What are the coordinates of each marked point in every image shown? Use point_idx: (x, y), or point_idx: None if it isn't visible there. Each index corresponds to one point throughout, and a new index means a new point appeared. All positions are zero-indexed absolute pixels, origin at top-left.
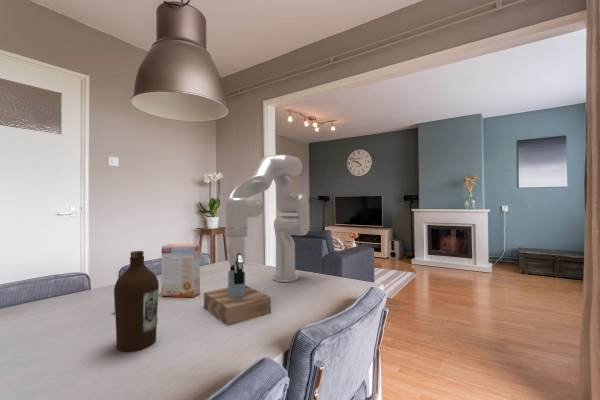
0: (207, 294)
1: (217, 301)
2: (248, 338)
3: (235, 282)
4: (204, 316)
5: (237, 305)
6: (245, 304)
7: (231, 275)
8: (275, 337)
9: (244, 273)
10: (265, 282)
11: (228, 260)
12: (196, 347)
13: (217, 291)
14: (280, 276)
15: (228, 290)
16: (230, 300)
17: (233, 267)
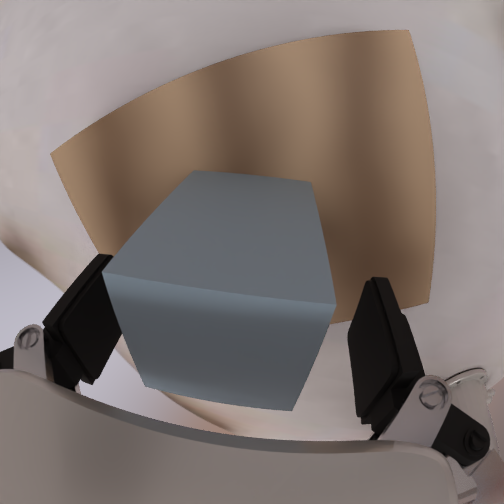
0: (339, 34)
1: (151, 91)
2: (27, 192)
3: (94, 267)
4: (229, 29)
5: (71, 200)
6: (93, 235)
7: (116, 287)
8: (36, 251)
9: (143, 381)
10: (479, 350)
11: (202, 499)
12: (11, 62)
13: (386, 119)
14: (454, 393)
15: (254, 187)
16: (138, 172)
17: (378, 383)
